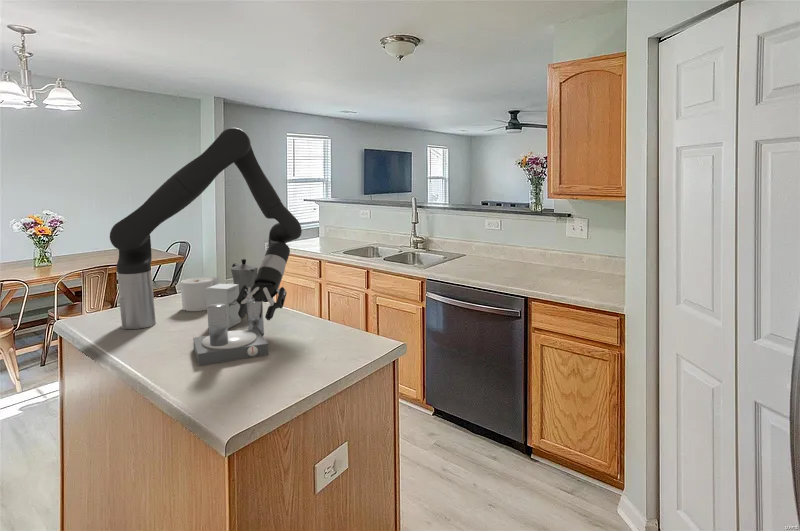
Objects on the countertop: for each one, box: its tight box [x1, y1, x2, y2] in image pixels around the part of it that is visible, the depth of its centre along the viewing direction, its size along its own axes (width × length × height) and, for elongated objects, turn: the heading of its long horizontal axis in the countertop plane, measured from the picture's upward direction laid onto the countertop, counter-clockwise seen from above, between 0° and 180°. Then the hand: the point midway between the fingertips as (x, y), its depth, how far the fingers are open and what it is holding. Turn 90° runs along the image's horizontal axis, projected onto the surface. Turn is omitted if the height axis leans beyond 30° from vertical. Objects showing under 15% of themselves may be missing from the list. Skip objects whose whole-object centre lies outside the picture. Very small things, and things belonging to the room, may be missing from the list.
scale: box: [192, 329, 269, 366], centre depth 130 cm, size 17×14×4 cm
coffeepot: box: [230, 258, 259, 314], centre depth 172 cm, size 15×9×18 cm, turn 44°
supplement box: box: [206, 283, 242, 330], centre depth 153 cm, size 7×7×13 cm
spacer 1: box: [207, 304, 229, 346], centre depth 125 cm, size 4×4×10 cm
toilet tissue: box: [180, 276, 221, 312], centre depth 175 cm, size 11×12×10 cm
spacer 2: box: [246, 300, 265, 336], centre depth 144 cm, size 4×4×10 cm
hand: (254, 318), depth 144 cm, fingers open, 8 cm apart
